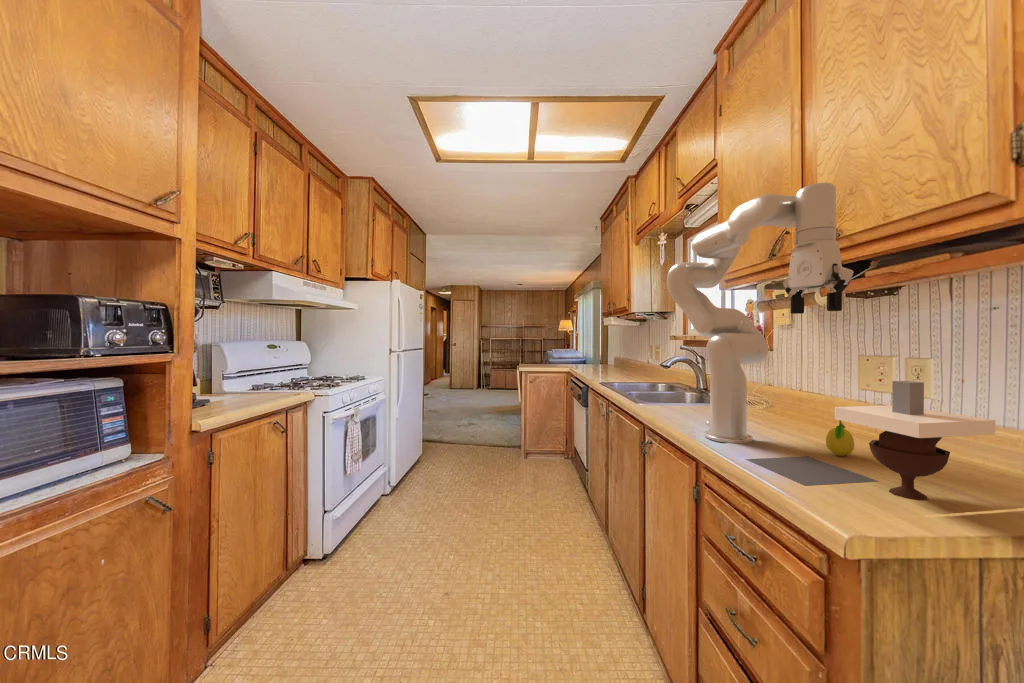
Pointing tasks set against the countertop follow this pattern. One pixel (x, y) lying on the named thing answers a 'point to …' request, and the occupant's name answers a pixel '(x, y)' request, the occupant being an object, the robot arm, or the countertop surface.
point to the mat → (810, 471)
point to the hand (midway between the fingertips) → (814, 312)
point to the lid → (914, 416)
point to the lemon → (840, 441)
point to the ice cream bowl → (909, 459)
